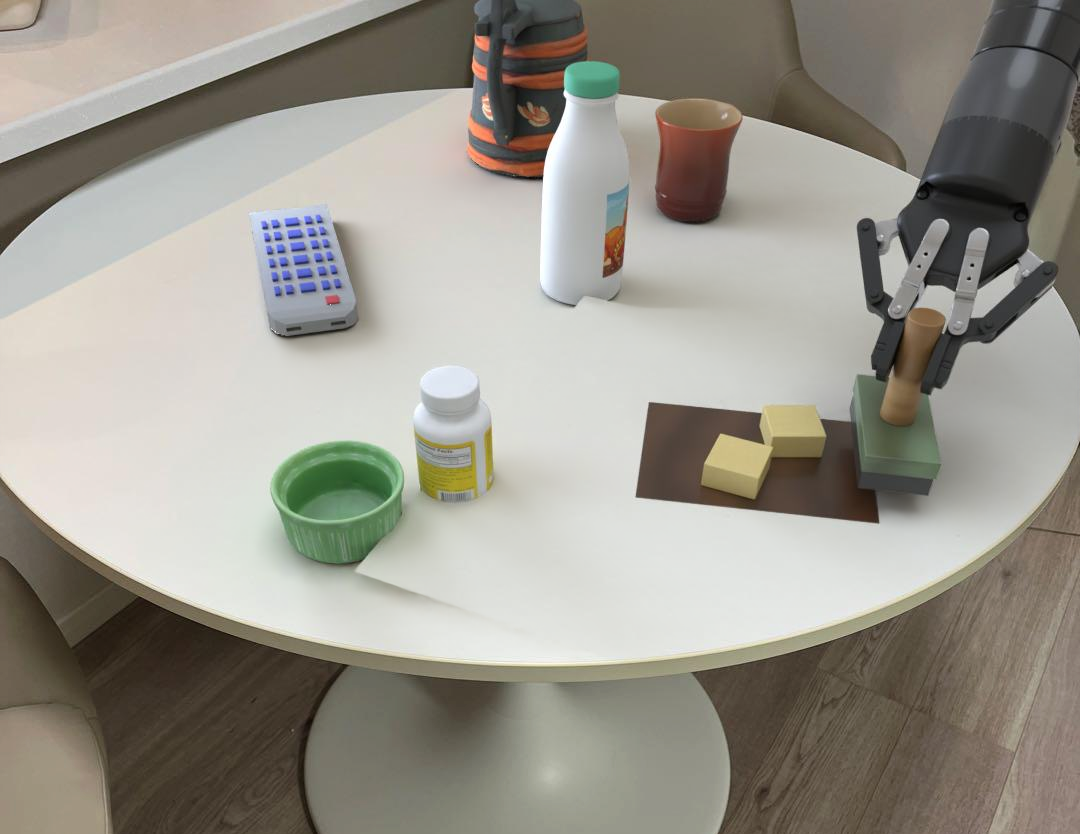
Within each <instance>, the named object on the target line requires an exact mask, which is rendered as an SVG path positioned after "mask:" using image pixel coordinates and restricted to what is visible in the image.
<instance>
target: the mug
mask: <svg viewBox="0 0 1080 834" xmlns="http://www.w3.org/2000/svg"><path fill="white" fill-rule="evenodd" d="M654 115H655V120H656V126H657V130H658V136H659V153H658V161H657V169H656V179H655V185H654V191H655V195H654V196H655V197H654V198H655V201H656V207H657V209H658V210H659V212H660V213H662V214H663V215H664V216H665V217H667V218H669V219H671V220H674V221H677V222H683V223H701V222H705V221H709V220H711V219H713V218H715V217H716V216H717V215H718V214H719V213H720V212H721V211H722V208H723V203H724V201H725V197H726V195H727V192H728V191H727V187H728V179H729V169H730V159H731V152H732V147H733V144H734V141H735V139H736V135H737V133H738V131H739V129H740V126H741V125H742V123H743V120H744V119H743V118H744V116H743V114H742V111H740V110H739V109H738V108H737V107H736V106H735V105H734V104H732V103H729V102H724V101H723V102H722V101H719V100H714V99H710V98H695V97H694V98H693V97H692V98H679V99H674V100H669V101H666V102H664V103H662V104H660V105H659V106H658V107H657V108H656V109H655V114H654Z"/></svg>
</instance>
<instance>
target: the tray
mask: <svg viewBox="0 0 1080 834" xmlns="http://www.w3.org/2000/svg"><path fill="white" fill-rule="evenodd" d="M761 415H762V412H757V411H746V410H736V409H727V408H715V407H707V406H705V407H704V406H696V405H695V406H694V405H686V404H685V405H684V404H674V403H664V402H656V401H655V402H654V401H649V402H648V405H647V413H646V418H645V426H644V432H643V440H642V448H641V454H640V460H639V461H640V462H639V469H638V475H637V483H636V488H635V497H634V498H637V499H646V500H653V501H654V500H655V501H663V502H664V501H665V502H674V503H683V504H690V505H691V504H693V505H703V506H710V507H711V506H712V507H719V508H728V509H729V508H730V509H738V510H747V511H755V512H756V511H758V512H765V513H776V514H785V515H794V516H804V517H812V518H821V519H830V520H831V519H832V520H841V521H849V522H850V521H851V522H860V523H869V524H870V523H871V524H877V525H878V524H880V515H879V507H878V500H877V490H871V489H862V488H858V487H857V478H856V468H855V458H854V448H853V438H852V428H851V421H849V420H848V421H847V420H839V419H829V418H828V419H827V418H820V420H821V423H822V425H823V428H824V431H825V434H826V441H825V445H824V449H823V453H822V457H772V458H771V462H770V467H769V470H768V472H767V474H766V477H765V479H764V481H763V483H762V485H761V488H760V490H759V492H758V494H757V496H756V498H755V500H754V499H750V498H746V497H743V496H739V495H735V494H732V493H728V492H724V491H721V490H717V489H714V488H710V487H706V486H703V485H701V482H702V475H703V469H704V463H705V461H706V459H707V458H708V456H709V454H710V452H711V450H712V448H713V446H714V445H715V443H716V441H717V439H718V437H719V435H720V434H724V435H728V436H732V437H736V438H740V439H744V440H748V441H751V442H755V443H759V444H763V445H765V443H764V440H763V436H762V433H761V429H760V421H761Z"/></svg>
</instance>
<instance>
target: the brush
mask: <svg viewBox="0 0 1080 834" xmlns="http://www.w3.org/2000/svg"><path fill="white" fill-rule="evenodd" d="M946 323H947V320H946V317H945V315H944V314H943V313H942V312H940V311H938V310H936V309H933V308H929V307H915V309H912V310H911V311H910V312H909V313H908V316H907V319H906V323H905V327H904V330H903V334H902V337H901V341H900V344H899V348H898V351H897V355H896V358H895V362H894V365H893V367H892V370H891V373H890V375H889V378H888V380H887V382H882V381H879V380H876V376H875V375H869V374H868V375H867V374H859V373H858V374H856V375H855V379H854V383H853V386H852V398H851V401H850V405H849V417H850V422H851V428H852V438H853V448H854V458H855V468H856V478H857V487H858V488H862V489H871V490H876V491H880V492H890V493H900V494H908V495H917V496H929V495H930V492H931V490H932V489H931V488H932V486H933V483H934V480H937V479H938V476H939V473H940V471H941V467H942V464H943V463H942V459H941V453H940V449H939V444H938V439H937V434H936V433H937V432H936V429H935V422H934V417H933V414H932V408H931V403H930V399H929V395H927V394H923V393H920V387H921V384H922V381H923V378H924V375H925V373H926V370H927V368H928V365H929V362H930V360H931V357H932V355H933V352H934V349H935V347H936V344H937V342H938V339H939V336H940V334H941V333H942V334H943V332H944V328H945V324H946Z"/></svg>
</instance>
